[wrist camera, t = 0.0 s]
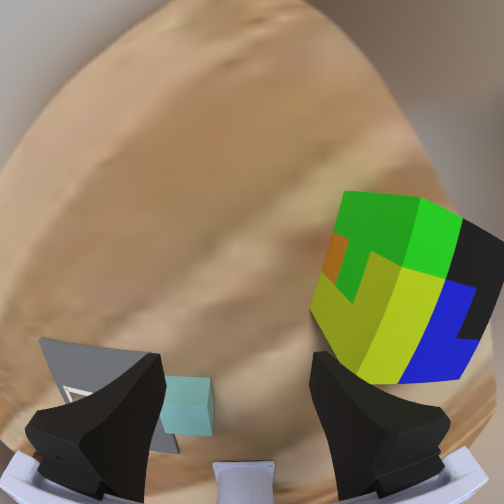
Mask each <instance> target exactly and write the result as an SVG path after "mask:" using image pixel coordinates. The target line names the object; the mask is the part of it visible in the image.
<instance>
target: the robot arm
mask: <svg viewBox="0 0 504 504" xmlns="http://www.w3.org/2000/svg"><path fill="white" fill-rule="evenodd" d="M309 386H310V391H311V396H312V400H313V403H314V406H315V409H316V411H317V414H318V416H319V419H320V422H321V424H322V427H323V429H324V432H325V435H326V438H327V441H328V444H329V449H330V453H331V457H332V462H333V467H334V472H335V477H336V483H337V490H338V498H339V502H335V503H330V504H463V503H464V502H465V501H466V500H467V499H469V498H470V497H471V496H472V495H473V494H474V493H475V492H476V491H477V490H478V489H480V488H481V487H482V486H483V485H484V484H485V483H486V482H487V481H488V477H487V476H486V474H485V473H484V472H483V470H482V469H481V467H480V466H479V464H478V463H477V461H476V460H475V459H474V457H473V456H472V455H471V453H470V452H469V450H468V449H467V448H466V446H462V447H461V448H459V449H457V450H455V451H453V452H452V453H450V454H448V455H446V456H445V457H444V458H442V459H440V457H439V456H438V455H439V454H440V453H441V451H440V449H439V448H438V445H439V444H440V443H441V441H442V440H443V438H444V437H445V435H446V434H447V432H448V430H449V428H450V424H451V422H450V419H449V418H448V416H447V415H446V414H445V413H444V411H443V410H442V409H441V408H440V407H435V406H429V405H423V404H418V403H415V402H411V401H407V400H404V399H401V398H399V397H396V396H393V395H391V394H389V393H386V392H384V391H382V390H380V389H378V388H376V387H374V386H373V385H371V384H369V383H368V382H366V381H364V380H363V379H361V378H360V377H358V376H357V375H356V374H354V373H353V372H351V371H350V370H349V369H347V368H346V367H345V366H344V365H342V364H341V363H340V362H339V361H338V360H336V359H335V358H334V357H333V356H331V355H330V354H329V353H328V352H327V351H322V352H314V354H313V361H312V368H311V375H310V382H309ZM166 388H167V384H166V380H165V375H164V371H163V366H162V361H161V356H160V354H155V353H147V354H146V355H145V356H144V357H142V358H141V359H140V360H139V361H138V362H137V363H135V364H134V365H133V366H132V367H131V368H129V369H128V370H127V371H126V372H124V373H123V374H122V375H120V376H119V377H118V378H116V379H115V380H114V381H112V382H111V383H109V384H108V385H106V386H105V387H103V388H102V389H100V390H98V391H96V392H94V393H92V394H91V395H88V396H86V397H84V398H82V399H79V400H77V401H74V402H72V403H69V404H65V405H62V406H58V407H54V408H49V409H44V410H38V411H37V412H36V413H35V415H34V416H33V417H32V419H31V420H30V422H29V423H28V424H27V426H26V427H25V433H26V436H27V438H28V439H29V441H30V442H31V444H32V445H33V446H34V448H35V449H36V450H37V452H38V453H39V454H40V455H41V457H42V458H43V460H42V462H41V463H40V462H39V461H37V460H36V459H34V458H33V457H31V456H29V455H27V454H25V453H23V452H22V451H20V450H17V452H16V453H15V455H14V457H13V458H12V460H11V462H10V463H9V465H8V467H7V468H6V470H5V472H4V473H3V475H2V477H1V479H0V487H1V488H2V489H3V490H4V491H5V492H6V493H7V494H8V495H10V496H11V497H12V498H13V499H14V500H15V501H17V502H18V503H19V504H144V489H145V478H146V469H147V462H148V456H149V450H150V444H151V441H152V437H153V434H154V431H155V428H156V425H157V422H158V419H159V416H160V413H161V410H162V407H163V404H164V399H165V394H166ZM213 469H214V473H215V478H216V482H217V486H218V492H217V504H274V497H273V489H272V485H273V477H274V469H275V461H257V462H213Z"/></svg>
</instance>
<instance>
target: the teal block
mask: <svg viewBox="0 0 504 504" xmlns="http://www.w3.org/2000/svg"><path fill="white" fill-rule="evenodd" d="M165 380H166V384H167V388H166V394H165V399H164V404H163V407H162V410H161V413H160V418H161V421H162V424H163V427H164V430H165V433H170V434H181V435H194V436H212V432H213V420H214V401H213V393H212V385H211V378H203V377H179V376H165Z"/></svg>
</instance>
